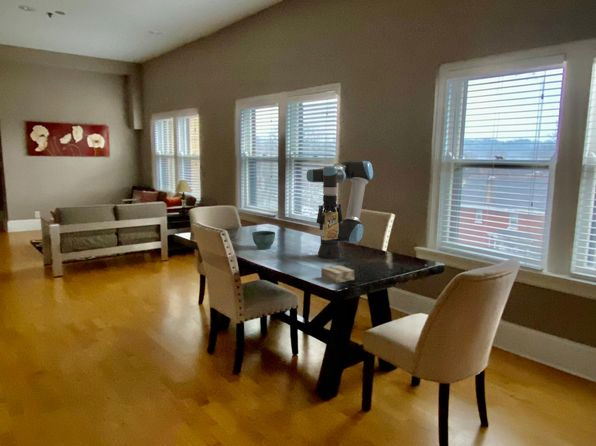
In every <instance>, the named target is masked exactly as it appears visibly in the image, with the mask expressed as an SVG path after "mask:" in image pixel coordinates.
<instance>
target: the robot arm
mask: <svg viewBox="0 0 596 446" xmlns="http://www.w3.org/2000/svg"><path fill="white" fill-rule="evenodd" d="M373 177H374V170H373V165H372V163H371V162H370V161H367V160H347V161H341V162H337V163H334V164H333V165H331V166H323V167H322V168H311V169H309V168H308V170H307V171H306V180H307V182H308V183H309V182H310V183H322V184H323V185H322V193H323V195H322V201H323V204H322V205H320V204H318V212H317V217H316V222H315V223H316V224H319V230H320V237H321V236H324V230H325V224H323V223H324V221H325V216H322V213H323V212H324V213H328V212H338V239H331V240H322V239H321V238H320V245H319V248H318V252H317V257H318V258H320V259H328V260H335V259H340V258H341V257H342V252H341V248H340V245H339V242H341V243H349V244H353V243H354V244H356V243H359V242H360V241H361V240H362V237H363V235H364V226H363V224H362V221H361V220H360V218H361V213H362V206H363V201H364V195H365V192H366V191H365V189H366V185H368V184H369V181H371V180H372V179H373ZM346 179H349V180H350V182H351V188H350V193H349V200H348V203H347V204H348V205H347V209H346V215H345V218H344V219H343V215H342V209H341V206H342V204H341V203H337V202H338V201H337V198H338V197H337V196H338V195H337V194H338V191H337V190H338V186H337V185H338V184H341V183H343V182H345V180H346Z"/></svg>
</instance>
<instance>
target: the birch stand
mask: <svg viewBox="0 0 596 446" xmlns="http://www.w3.org/2000/svg"><path fill="white" fill-rule="evenodd" d="M320 272H321V278H322V279H325V280H328V281H330V282H332V283H334V284H335V283H336V284H338V283H339V284H340V283H344V282H349V281H354V280H355V274H356V273H355V269H352V268H349V267H346V266H344V265H341V264H338V265H332V266H326V267H321V271H320Z"/></svg>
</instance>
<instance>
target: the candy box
mask: <svg viewBox="0 0 596 446" xmlns="http://www.w3.org/2000/svg"><path fill="white" fill-rule="evenodd" d="M322 216H325V221H324V223H323V224H325V230H324V236H321V235H320V240H321V239H322V240H331V239H338V212H337V211H336V212H331V211H330V212H328V213H324V212H323V213H322Z"/></svg>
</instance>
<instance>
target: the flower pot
mask: <svg viewBox="0 0 596 446" xmlns="http://www.w3.org/2000/svg"><path fill="white" fill-rule="evenodd" d="M251 235H252V241H253V243H254V244H255V246H256V248H257V249H258V250H269V249H271V248H272V246H273V244H274V242H275V238H276V232H275V231H271V230H259V231H257V230H256V231H252V232H251Z"/></svg>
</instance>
